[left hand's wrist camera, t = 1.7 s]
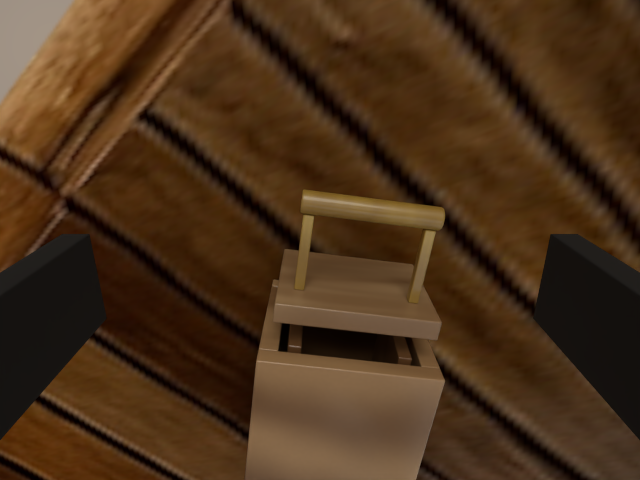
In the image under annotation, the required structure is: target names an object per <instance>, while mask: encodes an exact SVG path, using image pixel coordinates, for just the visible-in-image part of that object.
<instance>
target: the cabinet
mask: <svg viewBox="0 0 640 480" xmlns="http://www.w3.org/2000/svg"><path fill="white" fill-rule="evenodd" d="M278 282H279V280H273V283H272V287H271V292H270V297H269V302H268V307H267V312H266V316H265V321H264V326H263V331H262V336H261V341H260V345H259V350H258V355H257V360H256V369H255V379H254V389H253V399H252V409H251V420H250V430H249V440H248V450H247V460H246V470H245V480H416V477H417V474H418V470H419V467H420V464H421V460H422V457H423V453H424V450H425V447H426V443H427V440H428V437H429V433H430V430H431V426H432V423H433V420H434V416H435V413H436V409H437V406H438V403H439V399H440V396H441V393H442V389H443V386H444V382H445V380H444V378H443V375H442V373H441V370H440V368H439V365H438V363H437V361H436V358H435V356H434V353H433V351H432V349H431V346H430V344H429V341H428V339H420V338H411V337H405V340H406V343H407V346H408V349H409V352H410V355H411V358H412V361H411V365H401V364H392V363H383V362H373V361H364V360H355V359H345V358H336V357H327V356H318V355H308V354H299V353H290V352H286V346H287V338H288V330H289V324H285V323H276V322H273V313H274V304H275V298H276V293H277V287H278Z"/></svg>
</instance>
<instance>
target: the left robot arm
mask: <svg viewBox="0 0 640 480" xmlns="http://www.w3.org/2000/svg"><path fill="white" fill-rule="evenodd" d="M105 320H106V313H105V308H104V303H103V298H102V294H101V289H100V284H99V279H98V274H97V269H96V264H95V260H94V255H93V250H92V245H91V240H90V235H89V234H62V235H60V236H59V237H57V238H55V239H54V240H52V241H51V242H49V243H47V244H46V245H44V246H43V247H41V248H39V249H38V250H36V251H35V252H33V253H31V254H30V255H28V256H27V257H25V258H23V259H22V260H20V261H18V262H17V263H15V264H14V265H12V266H10V267H9V268H7V269H6V270H4V271H2V272H1V273H0V440H1V439H2V437H3V436H4V435H5V434H6V433H7V432H8V431H9V429H10V428H11V427H12V426H13V425H14V424H15V423H16V421H17V420H18V419H19V418H20V417H21V416H22V415H23V413H24V412H25V411H26V410H27V409H28V408H29V407H30V405H31V404H32V403H33V402H34V401H35V400H36V398H37V397H38V396H39V395H40V394H41V393H42V392H43V390H44V389H45V388H46V387H47V386H48V385H49V384H50V382H51V381H52V380H53V379H54V378H55V377H56V376H57V374H58V373H59V372H60V371H61V370H62V369H63V368H64V366H65V365H66V364H67V363H68V362H69V361H70V360H71V358H72V357H73V356H74V355H75V354H76V353H77V352H78V350H79V349H80V348H81V347H82V346H83V345H84V344H85V342H86V341H87V340H88V339H89V338H90V337H91V336H92V334H93V333H94V332H95V331H96V330H97V329H98V328H99V326H100V325H101V324H102V323H103V322H104V321H105ZM534 320H535V321H536V322H537V323H538V324H539V325H540V326H541V328H542V329H543V330H544V331H545V332H546V333H547V334H548V336H549V337H550V338H551V339H552V340H553V341H554V342H555V344H556V345H557V346H558V347H559V348H560V349H561V350H562V352H563V353H564V354H565V355H566V356H567V357H568V358H569V360H570V361H571V362H572V363H573V364H574V365H575V366H576V368H577V369H578V370H579V371H580V372H581V373H582V374H583V376H584V377H585V378H586V379H587V380H588V381H589V382H590V384H591V385H592V386H593V387H594V388H595V389H596V390H597V392H598V393H599V394H600V395H601V396H602V397H603V398H604V400H605V401H606V402H607V403H608V404H609V405H610V407H611V408H612V409H613V410H614V411H615V412H616V413H617V415H618V416H619V417H620V418H621V419H622V420H623V421H624V423H625V424H626V425H627V426H628V427H629V428H630V429H631V431H632V432H633V433H634V434H635V435H636V436H637V437H638V439H639V440H640V273H639V272H638V271H636V270H634V269H633V268H631V267H630V266H628V265H626V264H625V263H623V262H622V261H620V260H618V259H617V258H615V257H613V256H612V255H610V254H609V253H607V252H605V251H604V250H602V249H601V248H599V247H597V246H596V245H594V244H593V243H591V242H589V241H588V240H586V239H585V238H583V237H581V236H580V235H578V234H551V235H550V240H549V245H548V250H547V255H546V260H545V264H544V269H543V274H542V279H541V284H540V289H539V294H538V298H537V303H536V308H535V313H534Z"/></svg>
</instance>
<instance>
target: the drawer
mask: <svg viewBox="0 0 640 480" xmlns="http://www.w3.org/2000/svg"><path fill="white" fill-rule="evenodd" d="M300 213H303V221H302V228H301V236H300V244H299V251H298V250H289V249H285V250H284V254H283V259H282V265H281V271H280V276H279V282H278V287H277V293H276V298H275V304H274V313H273V322H276V323H285V324H289V330H288V338H287V346H286V352H290V353H299V354H308V355H318V356H327V357H336V358H345V359H355V360H364V361H373V362H383V363H392V364H401V365H411V361H412V358H411V355H410V352H409V349H408V346H407V343H406V340H405V337H411V338H420V339H429V340H437V339H438V335H439V331H440V328H441V324H442V322H441V320H440V318H439V316H438V314H437V312H436V310H435V308H434V306H433V304H432V302H431V300H430V298H429V296H428V294H427V292H426V290H425V288H424V286H423V282H424V277H425V273H426V269H427V265H428V261H429V257H430V253H431V249H432V245H433V241H434V237H435V233H436V231H435V230H441V228H442V227H443V224H444V220H445V211H444V209H443V208H442V207H436V206H428V205H420V204H412V203H405V202H397V201H389V200H381V199H374V198H366V197H358V196H351V195H343V194H335V193H327V192H320V191H312V190H303V191H302V199H301V207H300ZM314 215H319V216H327V217H335V218H343V219H351V220H359V221H367V222H374V223H382V224H390V225H398V226H406V227H414V228H422V229H423V231H422V235H421V239H420V243H419V248H418V252H417V256H416V260H415V265H414V266H413V265H412V264H405V263H397V262H388V261H380V260H372V259H364V258H355V257H347V256H339V255H331V254H322V253H314V252H310V245H311V237H312V230H313V223H314Z"/></svg>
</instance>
